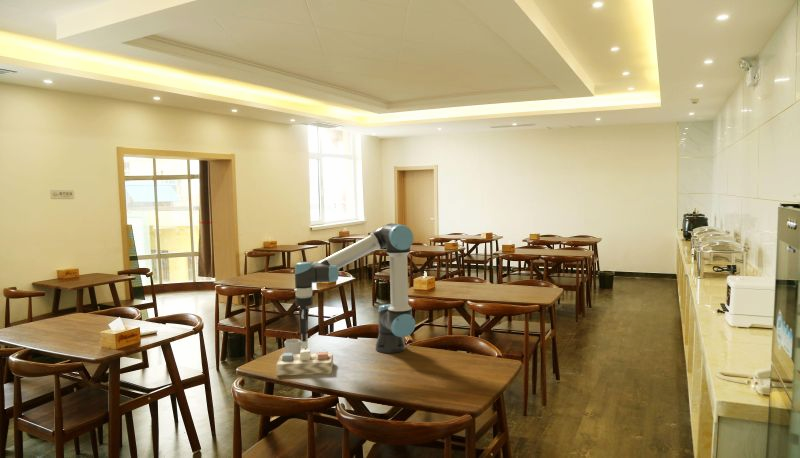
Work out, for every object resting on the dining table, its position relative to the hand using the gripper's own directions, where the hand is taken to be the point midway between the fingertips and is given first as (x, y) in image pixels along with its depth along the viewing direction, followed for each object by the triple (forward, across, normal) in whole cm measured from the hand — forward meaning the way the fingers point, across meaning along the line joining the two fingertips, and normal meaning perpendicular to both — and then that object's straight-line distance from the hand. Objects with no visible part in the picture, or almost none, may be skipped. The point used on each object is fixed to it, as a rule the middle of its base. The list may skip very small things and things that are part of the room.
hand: (304, 347), depth 237 cm
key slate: (+8, 0, -8) cm, 11 cm away
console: (+10, 0, 0) cm, 10 cm away
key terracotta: (+8, 0, +8) cm, 11 cm away
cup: (+10, -19, -7) cm, 23 cm away
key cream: (+6, 0, 0) cm, 6 cm away
